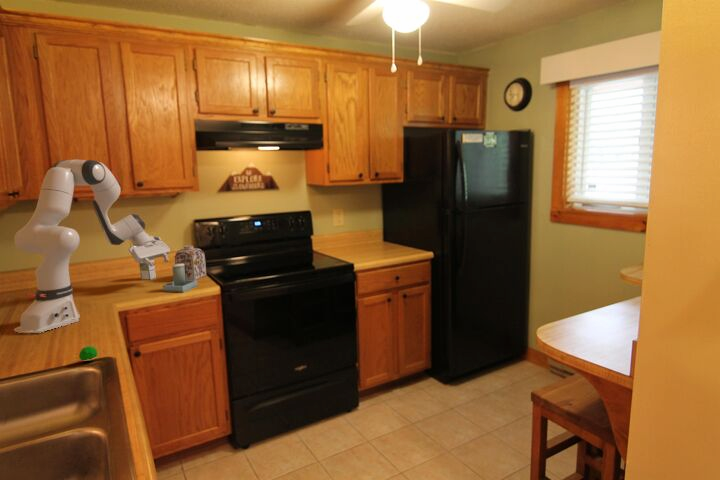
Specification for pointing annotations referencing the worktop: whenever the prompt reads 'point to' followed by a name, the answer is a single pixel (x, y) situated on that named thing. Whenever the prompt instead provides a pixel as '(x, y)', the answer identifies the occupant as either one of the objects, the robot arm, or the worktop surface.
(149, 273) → the syrup box
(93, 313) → the worktop surface
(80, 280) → the worktop surface
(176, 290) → the dish
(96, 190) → the robot arm
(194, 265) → the decorative jar
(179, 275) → the tea tin
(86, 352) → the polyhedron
